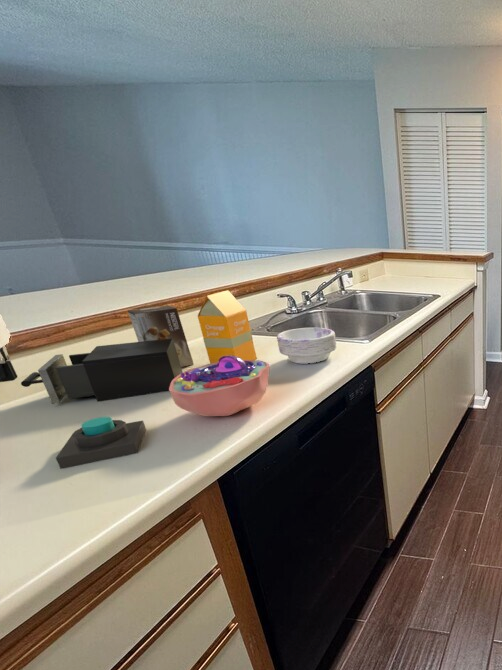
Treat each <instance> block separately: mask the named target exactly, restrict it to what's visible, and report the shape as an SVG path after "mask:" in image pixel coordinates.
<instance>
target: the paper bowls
mask: <svg viewBox="0 0 502 670" xmlns="http://www.w3.org/2000/svg"><path fill="white" fill-rule="evenodd" d="M336 339H337V338H336V333H335V331H334V330H333V329H331V328H325V327H300V328H293V329H287V330H284V331H282V332H279V333H278V334H276V340H277V346H278V351H279V354H281V355H284V356H286V357H287V358H288V359H289V360H290V361H291V362H292V363H295V364H301V365H303V364H304V365H308V363H310V364H316V362H317V363H320V361H321V362H323V361H325V360H327V359H328V358H329V357H330V355H331V353H332V352H334V351H336V350H337V341H336Z"/></svg>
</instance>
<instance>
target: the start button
mask: <svg viewBox="0 0 502 670" xmlns="http://www.w3.org/2000/svg"><path fill="white" fill-rule="evenodd" d="M113 420H114V419H113V418H112V417H109V416H101V417H96V418H92V419H89V420H86V421H84V422H82V424H81V426H80V428H82V429H83V431H84V434H85V435H95V434H100V433H104V432H107V431H110V430H111V429H113V428H115V426H114V423H113Z"/></svg>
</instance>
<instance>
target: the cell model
mask: <svg viewBox="0 0 502 670" xmlns="http://www.w3.org/2000/svg"><path fill="white" fill-rule="evenodd" d="M182 372H183V373H181V374H180V375H178V376H177V377H175V378H174V379H173V380H172V382H171V384H170V387H169V391H168V392H169V393H170V396H171V398H172V401H173V403H174V404H175V405H176V406H177V407H178V408H180V409H181V410H184V411H186V412H188V413H192V414H195V415H198V416H202V417H228V416H231V415H234V414H236V413H239V412H240V411H243V410H246V409H248V408H251V407H253V406H254V405H256V404H257V403H259V402H260V401H261V400H262V398H263V397H265V395H266V392H267V389H268V386H269V383H270V382H269V381H270V378H269V377H270V376H269V375H270V363H269V362H267V361H265V360H259V359H255V360H242V359H241V358H239V357H236V356H233V355H226V356H223V357H221V358H220V359H219V361H218V362H217V363H211V364H210V363H208V364H204V365H201V366H197V367H194V368H190V369H188V370H187V369H186V370H185V371H182Z"/></svg>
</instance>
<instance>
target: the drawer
mask: <svg viewBox="0 0 502 670" xmlns="http://www.w3.org/2000/svg"><path fill="white" fill-rule="evenodd" d="M90 353H91V352H86V353H76V354H69V355H68V357H69V360H70V363H71V365H70V364H69V365H68V364H67V361H66V359H65V357H64V354H63V353H60V354H55V355H54V356H53V357H52V358H50V359H49V360H48V361H46V362H45V363H44V364H43V365H42V366H40V367H39V368H38V369H37V371H34V372H31V373H30V374H29V375H27V377H26V378H24V379H22V381H20V385H21V386H22V387H25V388H28V387H30V386H31V385H37V384H42V383H43V385H44V388H45V390H46V392H47V395H48V397H49V400H50V402H51V404H60V403H61V402H62V401H63V399H65V397H66V396H67V399H78V398H84V397H90V396H95V394H94V391H93V388H92V386H91V383H90V381H89V378H88V376H87V373H86V370H85V368H84V365H83V363H82V361H83V360H84V359H85V358H86V357H87V356H88V355H89V354H90ZM39 378H41V379H39Z"/></svg>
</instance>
